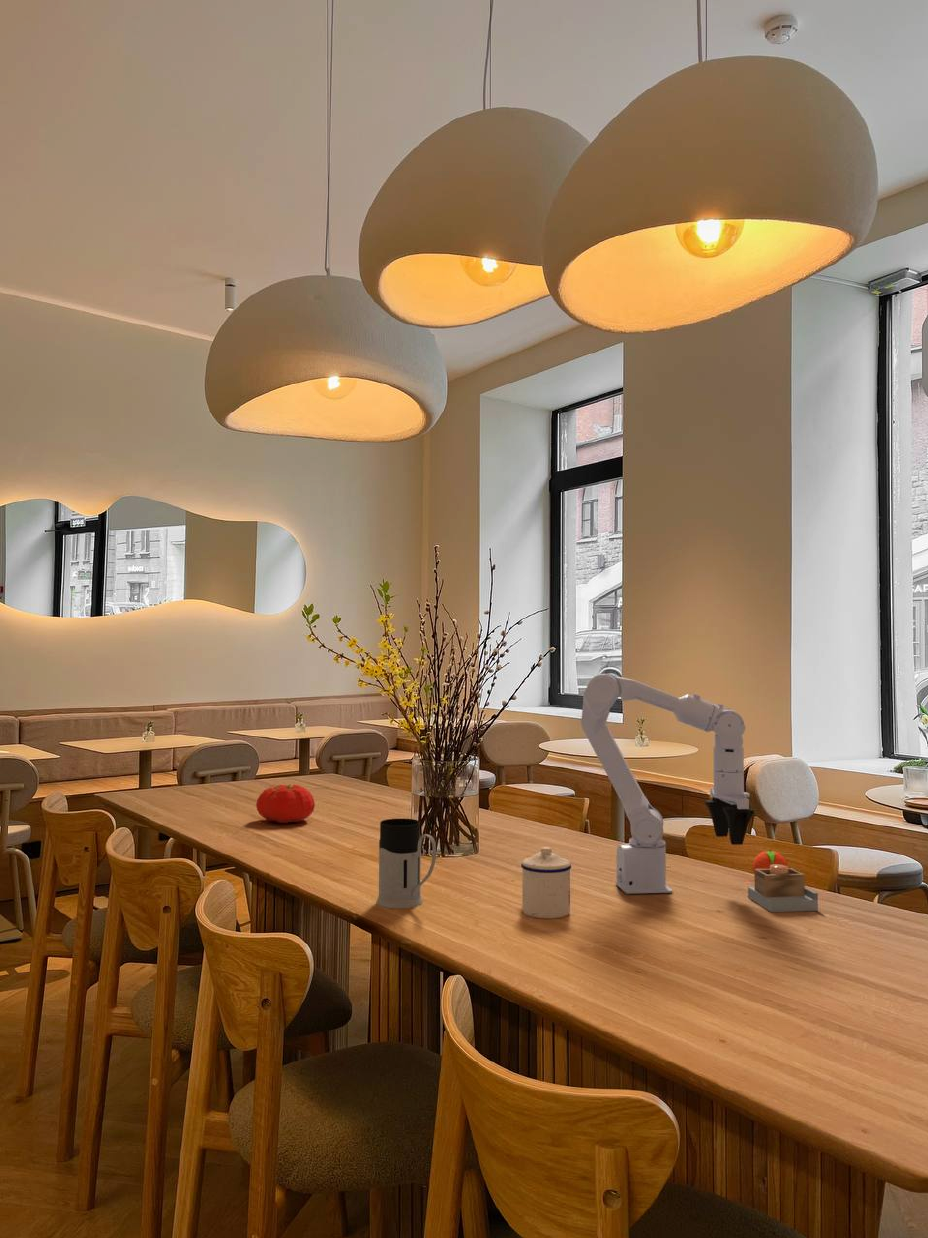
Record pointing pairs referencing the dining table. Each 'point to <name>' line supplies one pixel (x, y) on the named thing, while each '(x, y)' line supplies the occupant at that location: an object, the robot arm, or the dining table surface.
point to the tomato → (285, 804)
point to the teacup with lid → (546, 885)
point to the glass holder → (401, 863)
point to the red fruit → (768, 860)
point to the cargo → (778, 869)
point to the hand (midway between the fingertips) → (729, 840)
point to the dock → (786, 901)
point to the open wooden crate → (779, 883)
